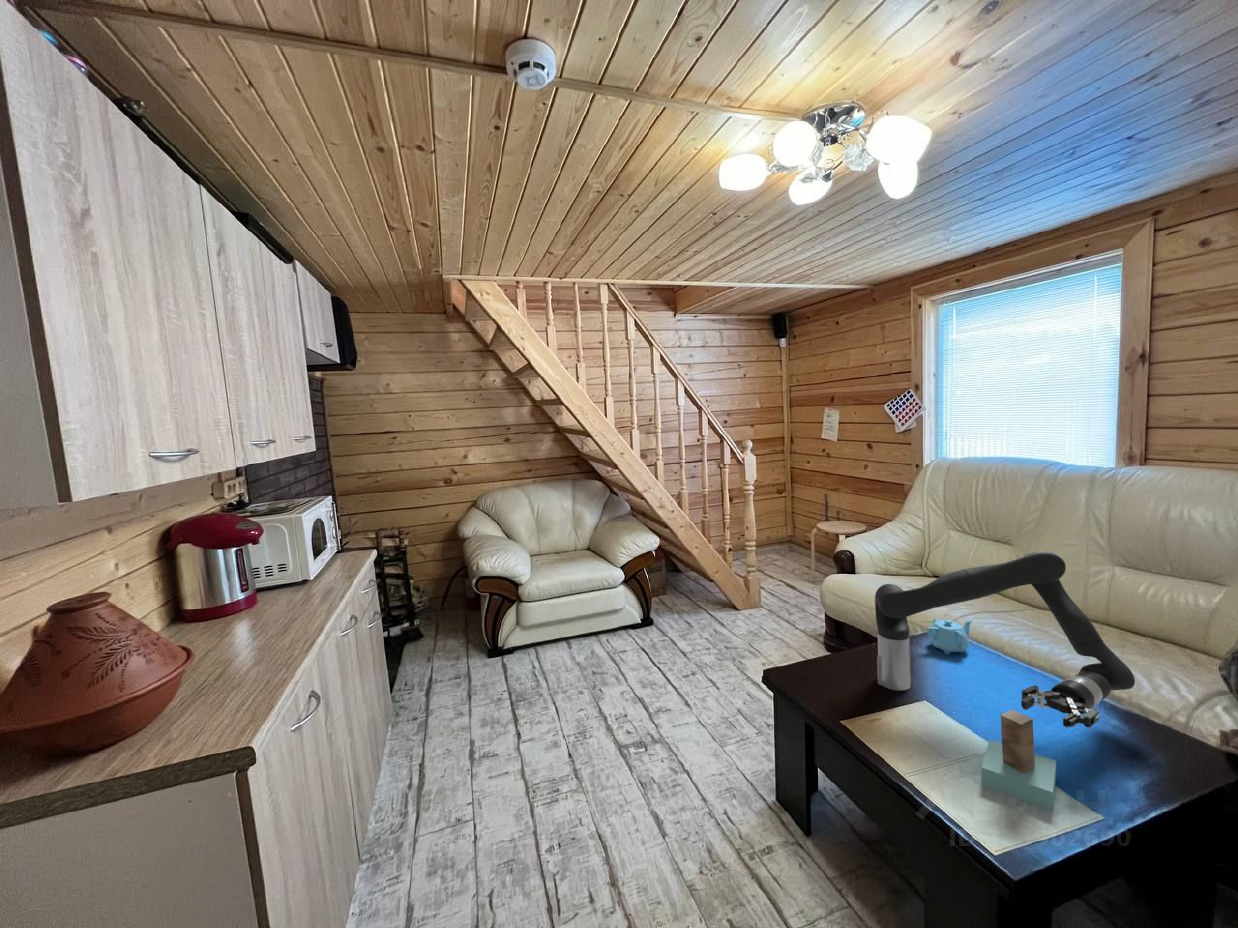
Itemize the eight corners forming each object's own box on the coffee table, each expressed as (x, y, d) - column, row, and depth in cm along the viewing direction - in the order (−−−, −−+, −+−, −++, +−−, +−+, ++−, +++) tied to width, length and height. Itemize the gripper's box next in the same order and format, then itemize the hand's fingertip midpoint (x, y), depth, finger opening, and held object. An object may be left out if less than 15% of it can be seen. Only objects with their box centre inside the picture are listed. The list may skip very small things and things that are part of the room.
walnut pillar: (1003, 761, 121) (1000, 715, 120) (1014, 755, 122) (1012, 709, 121) (1023, 772, 117) (1021, 724, 116) (1034, 766, 118) (1032, 718, 117)
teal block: (981, 786, 120) (981, 767, 120) (989, 757, 129) (989, 739, 129) (1052, 813, 111) (1052, 792, 111) (1056, 779, 120) (1056, 760, 120)
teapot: (924, 651, 185) (923, 623, 184) (934, 635, 195) (934, 609, 194) (965, 661, 176) (964, 632, 175) (973, 644, 186) (973, 616, 185)
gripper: (1044, 669, 136) (1011, 686, 130) (1113, 693, 124) (1080, 714, 117) (1044, 695, 137) (1011, 713, 130) (1112, 721, 124) (1079, 744, 117)
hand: (1043, 714), depth 124 cm, fingers open, 8 cm apart
